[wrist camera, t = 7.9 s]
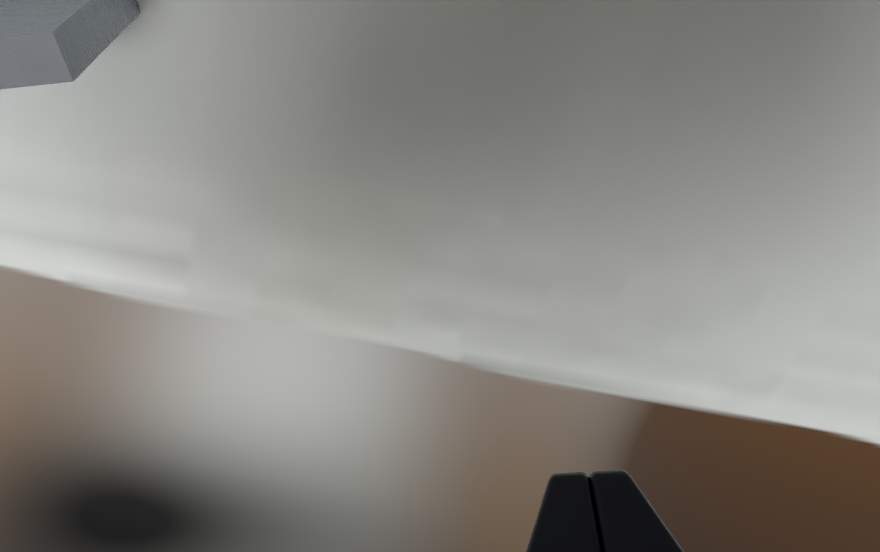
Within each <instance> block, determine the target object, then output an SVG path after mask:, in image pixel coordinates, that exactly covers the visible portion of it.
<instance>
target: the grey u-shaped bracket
mask: <svg viewBox="0 0 880 552" xmlns="http://www.w3.org/2000/svg"><path fill="white" fill-rule="evenodd" d="M139 14H140V12H139V9H138V6H137V4H136V1H135V0H0V89H6V88H16V87H25V86H35V85H44V84H54V83H63V82H72V81H74V80H75V79H76V78H77V77H78V76H79V75H80V74H81V73H82V72H83V71H84V70H85V69H86V68H87V67H88V66H89V65H90V64H91V63H92V62H93V61H94V60H95V59H96V58H97V57H98V56H99V55H100V54H101V53H102V52H103V51H104V50H105V49H106V48H107V47H108V46H109V44H110V43H111V42H112V41H113V40H114V39H115V38H116V37H117V36H118V35H119V34H120V33H121V32H122V31H123V30H124V29H125V28H126V27H127V26H128V25H129V24H130V23H131V22H132V21H133V20H134V19H135V18H136V17H137V16H138V15H139Z"/></svg>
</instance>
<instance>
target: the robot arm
mask: <svg viewBox="0 0 880 552" xmlns="http://www.w3.org/2000/svg"><path fill="white" fill-rule="evenodd" d="M526 552H684V551H683V550H682V548H681V547H680V546H679V544H678V543H677V541H676V540H675V538H674V537H673V536H672V534H671V533H670V531H669V530H668V529H667V527H666V526H665V524H664V523H663V521H662V520H661V519H660V517H659V516H658V514H657V513H656V511H655V510H654V509H653V507H652V506H651V504H650V503H649V501H648V500H647V499H646V497H645V496H644V494H643V493H642V491H641V490H640V489H639V487H638V486H637V484H636V483H635V482H634V480H633V479H632V478H631V476H630V475H629V474H628V473H627V472H626V471H623V470H608V471H594V472H592V473H590V475H589V478H588V476H587V475H586V474H585V473H583V472H569V473H555V474H553V475H551V477H550V478H549V480H548V483H547V486H546V490H545V493H544V496H543V499H542V503H541V506H540V509H539V512H538V516H537V519H536V522H535V525H534V528H533V532H532V535H531V538H530V541H529V545H528V548H527V551H526Z"/></svg>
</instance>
